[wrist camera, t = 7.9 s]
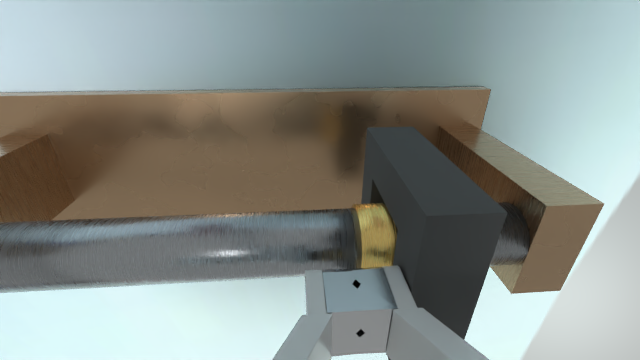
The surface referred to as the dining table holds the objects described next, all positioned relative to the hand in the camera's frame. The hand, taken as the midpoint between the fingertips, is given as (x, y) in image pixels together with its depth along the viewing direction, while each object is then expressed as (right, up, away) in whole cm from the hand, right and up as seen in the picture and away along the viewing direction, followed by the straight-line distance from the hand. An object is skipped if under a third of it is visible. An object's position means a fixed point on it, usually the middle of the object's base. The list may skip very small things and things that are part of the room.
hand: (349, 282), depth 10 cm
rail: (-5, +5, +9) cm, 11 cm away
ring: (+2, +3, +5) cm, 6 cm away
